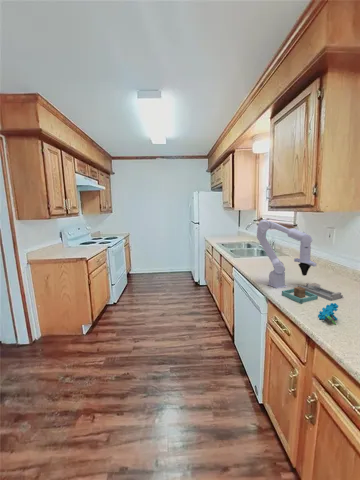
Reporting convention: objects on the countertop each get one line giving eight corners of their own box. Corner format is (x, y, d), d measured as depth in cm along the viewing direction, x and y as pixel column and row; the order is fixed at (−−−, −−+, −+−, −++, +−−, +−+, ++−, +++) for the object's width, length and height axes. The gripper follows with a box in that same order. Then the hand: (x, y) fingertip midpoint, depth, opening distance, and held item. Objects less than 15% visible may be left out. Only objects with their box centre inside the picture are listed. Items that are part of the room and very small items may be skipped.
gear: (317, 308, 114) (335, 298, 108) (326, 318, 113) (346, 308, 107) (316, 321, 105) (336, 311, 99) (326, 332, 104) (347, 322, 98)
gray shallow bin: (296, 288, 146) (296, 283, 145) (308, 286, 149) (308, 280, 148) (330, 302, 125) (330, 295, 124) (343, 298, 128) (344, 292, 127)
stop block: (293, 296, 133) (294, 287, 133) (299, 294, 135) (299, 286, 134) (299, 298, 130) (299, 289, 129) (305, 297, 131) (305, 288, 130)
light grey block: (307, 290, 141) (307, 284, 140) (314, 288, 142) (314, 282, 142) (313, 292, 137) (313, 286, 136) (320, 290, 139) (320, 284, 138)
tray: (281, 295, 136) (281, 291, 136) (297, 291, 140) (297, 287, 140) (301, 304, 124) (301, 299, 123) (317, 300, 128) (317, 295, 127)
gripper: (320, 255, 138) (319, 277, 140) (300, 250, 151) (299, 271, 153) (311, 256, 135) (310, 279, 137) (291, 252, 149) (291, 272, 151)
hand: (304, 275), depth 145 cm, fingers closed
